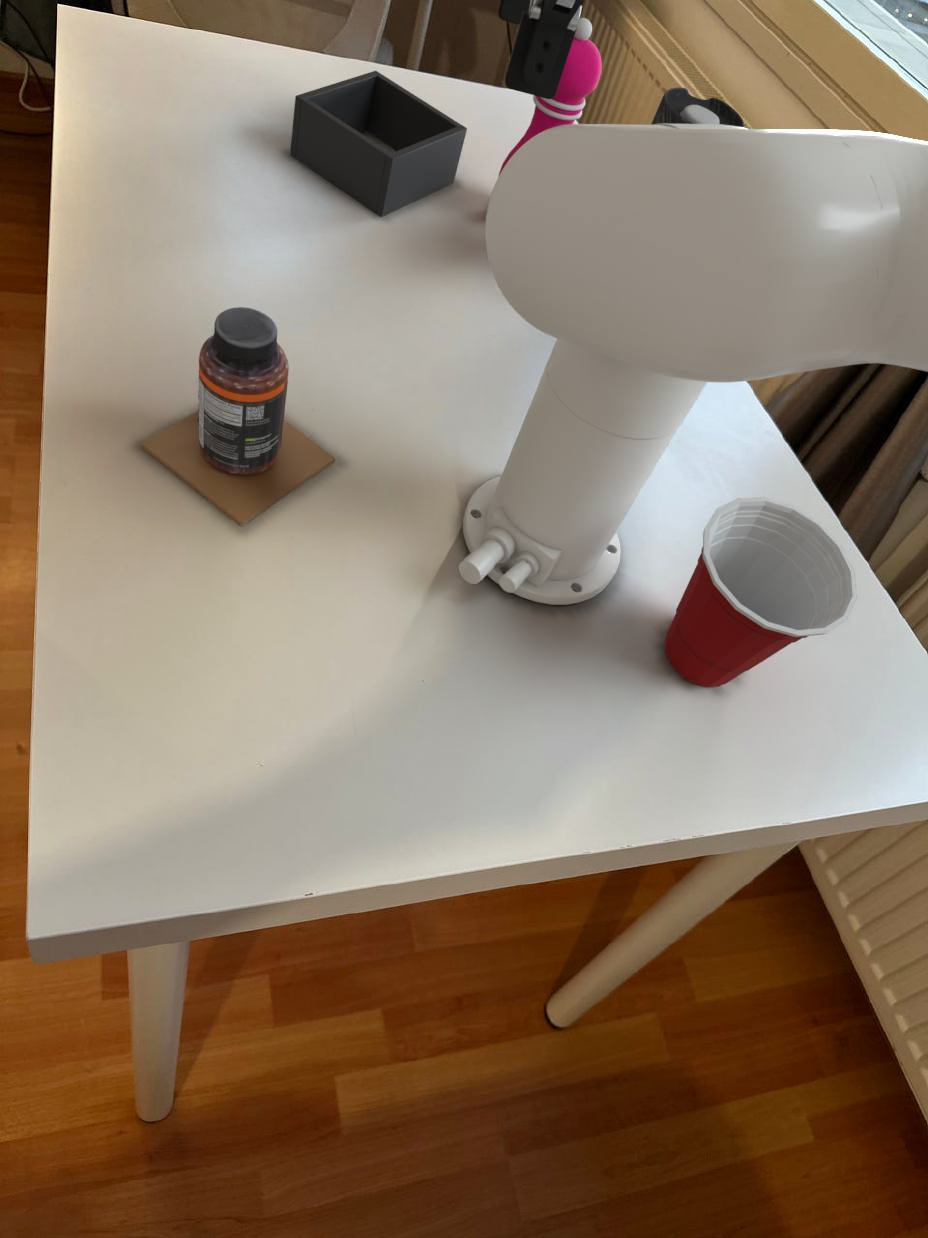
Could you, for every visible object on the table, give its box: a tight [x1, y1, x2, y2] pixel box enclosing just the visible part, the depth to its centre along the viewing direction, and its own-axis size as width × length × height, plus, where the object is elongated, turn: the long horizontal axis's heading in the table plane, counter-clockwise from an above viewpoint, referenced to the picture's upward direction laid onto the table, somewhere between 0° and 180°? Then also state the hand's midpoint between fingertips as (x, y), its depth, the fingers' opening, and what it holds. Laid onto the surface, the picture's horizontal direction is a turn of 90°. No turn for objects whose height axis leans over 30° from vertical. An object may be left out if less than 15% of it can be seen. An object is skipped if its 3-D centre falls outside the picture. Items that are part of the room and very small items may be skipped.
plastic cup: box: [664, 496, 858, 688], centre depth 61 cm, size 11×11×12 cm
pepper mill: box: [497, 17, 603, 178], centre depth 87 cm, size 7×7×20 cm
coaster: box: [140, 410, 336, 527], centre depth 66 cm, size 10×10×1 cm
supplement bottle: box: [197, 306, 290, 476], centre depth 61 cm, size 6×6×11 cm
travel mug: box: [650, 86, 745, 128], centre depth 82 cm, size 8×8×20 cm
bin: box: [289, 70, 468, 218], centre depth 92 cm, size 13×13×6 cm
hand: (523, 55), depth 56 cm, fingers open, 9 cm apart
